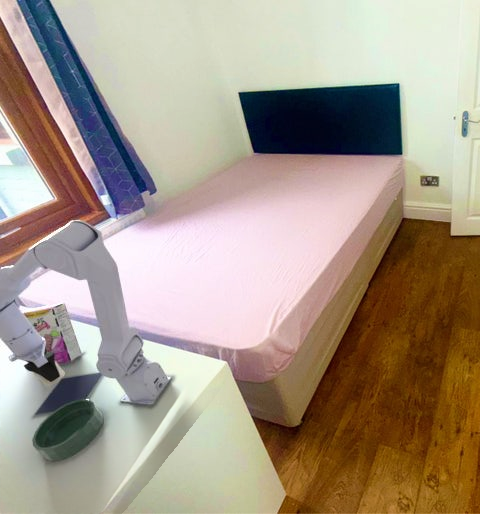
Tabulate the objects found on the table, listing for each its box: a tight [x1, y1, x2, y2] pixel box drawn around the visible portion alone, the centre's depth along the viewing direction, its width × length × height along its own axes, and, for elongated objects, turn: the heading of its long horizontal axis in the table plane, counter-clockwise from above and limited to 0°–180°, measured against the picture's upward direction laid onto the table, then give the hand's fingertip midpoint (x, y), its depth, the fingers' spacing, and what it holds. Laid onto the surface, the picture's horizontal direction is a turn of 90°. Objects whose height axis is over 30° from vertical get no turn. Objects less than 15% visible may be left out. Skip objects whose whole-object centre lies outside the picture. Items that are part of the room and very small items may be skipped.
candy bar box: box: [22, 302, 83, 365], centre depth 102 cm, size 11×5×16 cm, turn 94°
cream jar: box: [34, 361, 65, 387], centre depth 85 cm, size 4×4×5 cm
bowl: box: [31, 398, 104, 462], centre depth 79 cm, size 12×12×4 cm
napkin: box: [34, 372, 103, 415], centre depth 92 cm, size 12×11×1 cm
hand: (51, 374), depth 86 cm, fingers closed on cream jar, 4 cm apart
